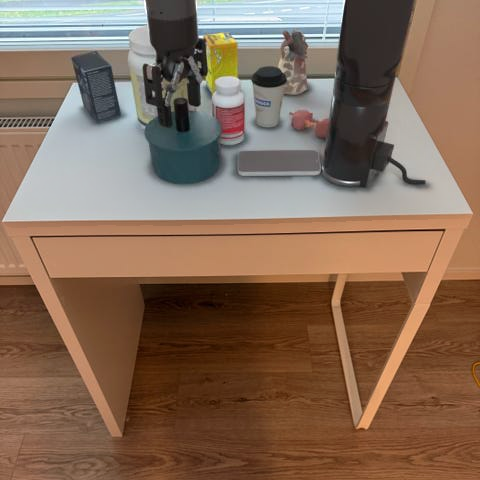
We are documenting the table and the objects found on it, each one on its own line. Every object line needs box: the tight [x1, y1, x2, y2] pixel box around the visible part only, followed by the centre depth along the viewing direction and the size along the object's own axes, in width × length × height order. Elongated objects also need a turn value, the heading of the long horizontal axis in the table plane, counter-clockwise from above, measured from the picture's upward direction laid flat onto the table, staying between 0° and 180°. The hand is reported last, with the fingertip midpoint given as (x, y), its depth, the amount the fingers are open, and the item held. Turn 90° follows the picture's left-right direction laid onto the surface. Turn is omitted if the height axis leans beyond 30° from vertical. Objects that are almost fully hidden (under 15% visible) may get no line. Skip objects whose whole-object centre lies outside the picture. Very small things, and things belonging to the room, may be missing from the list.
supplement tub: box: [127, 24, 198, 131], centre depth 95 cm, size 12×12×17 cm
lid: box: [143, 98, 222, 152], centre depth 84 cm, size 14×14×6 cm
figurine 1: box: [277, 28, 309, 96], centre depth 107 cm, size 7×7×12 cm
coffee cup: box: [250, 65, 287, 128], centre depth 97 cm, size 7×7×10 cm
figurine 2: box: [288, 109, 329, 139], centre depth 98 cm, size 12×3×7 cm
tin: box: [147, 138, 222, 185], centre depth 89 cm, size 13×13×6 cm
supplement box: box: [202, 31, 239, 96], centre depth 107 cm, size 6×6×11 cm
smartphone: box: [237, 149, 322, 177], centre depth 90 cm, size 7×1×15 cm
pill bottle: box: [211, 76, 246, 146], centre depth 93 cm, size 6×6×11 cm
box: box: [70, 50, 122, 123], centre depth 101 cm, size 8×6×11 cm
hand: (181, 115), depth 84 cm, fingers open, 8 cm apart
